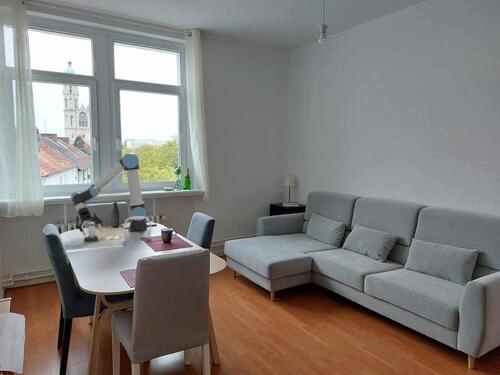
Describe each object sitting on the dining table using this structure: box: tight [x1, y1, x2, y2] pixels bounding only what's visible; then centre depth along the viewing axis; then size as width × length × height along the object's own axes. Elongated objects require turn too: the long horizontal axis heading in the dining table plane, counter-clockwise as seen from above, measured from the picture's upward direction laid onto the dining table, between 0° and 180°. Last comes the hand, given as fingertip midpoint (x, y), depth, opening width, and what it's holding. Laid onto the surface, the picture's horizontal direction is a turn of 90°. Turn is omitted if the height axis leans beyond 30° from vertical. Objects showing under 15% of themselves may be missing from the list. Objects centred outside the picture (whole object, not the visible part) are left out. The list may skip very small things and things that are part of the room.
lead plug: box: [87, 221, 96, 239], centre depth 256 cm, size 5×5×13 cm
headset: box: [122, 216, 152, 240], centre depth 262 cm, size 20×7×18 cm, turn 106°
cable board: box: [82, 235, 123, 243], centre depth 260 cm, size 26×10×4 cm, turn 115°
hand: (93, 233), depth 255 cm, fingers open, 12 cm apart
